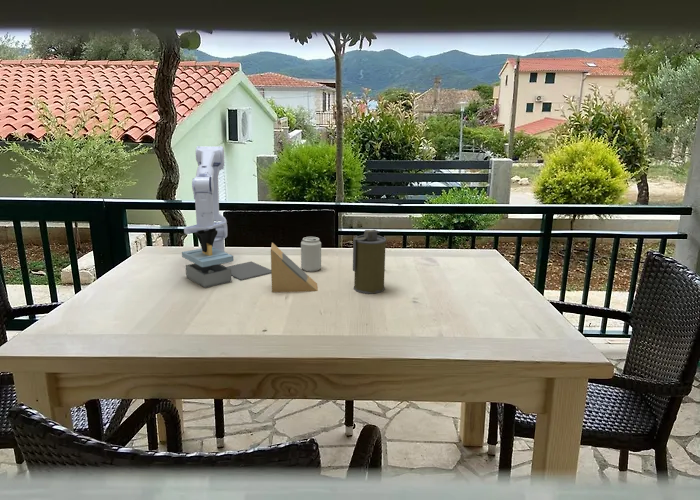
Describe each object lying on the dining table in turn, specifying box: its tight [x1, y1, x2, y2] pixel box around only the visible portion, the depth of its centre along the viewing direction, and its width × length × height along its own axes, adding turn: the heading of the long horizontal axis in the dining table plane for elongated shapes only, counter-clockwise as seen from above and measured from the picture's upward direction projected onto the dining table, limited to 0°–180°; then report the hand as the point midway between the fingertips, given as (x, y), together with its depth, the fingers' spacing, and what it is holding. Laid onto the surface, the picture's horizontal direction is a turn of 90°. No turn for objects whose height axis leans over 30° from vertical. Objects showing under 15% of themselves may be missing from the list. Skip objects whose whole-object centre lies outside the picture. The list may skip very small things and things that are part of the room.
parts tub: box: [185, 263, 233, 289], centre depth 180 cm, size 14×10×4 cm
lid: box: [181, 243, 234, 267], centre depth 178 cm, size 15×11×5 cm
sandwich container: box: [270, 242, 319, 293], centre depth 172 cm, size 9×15×15 cm, turn 96°
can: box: [300, 236, 322, 273], centre depth 192 cm, size 8×8×12 cm
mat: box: [226, 261, 271, 281], centre depth 190 cm, size 16×14×1 cm
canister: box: [352, 229, 387, 295], centre depth 172 cm, size 11×10×20 cm
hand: (207, 251), depth 178 cm, fingers closed on lid
